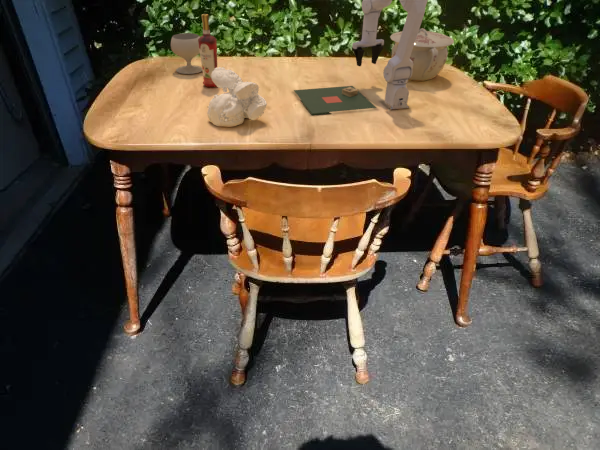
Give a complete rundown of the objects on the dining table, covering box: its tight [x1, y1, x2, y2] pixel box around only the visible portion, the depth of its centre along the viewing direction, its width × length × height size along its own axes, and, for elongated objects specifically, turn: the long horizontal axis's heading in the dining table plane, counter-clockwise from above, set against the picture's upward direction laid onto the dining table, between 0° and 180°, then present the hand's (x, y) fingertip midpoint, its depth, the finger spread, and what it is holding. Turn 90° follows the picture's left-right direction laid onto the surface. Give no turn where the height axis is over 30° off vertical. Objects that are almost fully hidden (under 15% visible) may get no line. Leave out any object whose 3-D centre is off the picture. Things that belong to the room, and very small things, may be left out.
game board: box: [293, 85, 377, 116], centre depth 188 cm, size 26×26×1 cm
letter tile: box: [342, 87, 359, 97], centre depth 192 cm, size 4×4×2 cm
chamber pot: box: [389, 27, 455, 82], centre depth 210 cm, size 28×28×21 cm
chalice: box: [170, 32, 203, 75], centre depth 212 cm, size 14×14×15 cm
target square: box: [322, 96, 342, 103], centre depth 187 cm, size 6×6×1 cm
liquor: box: [198, 13, 218, 88], centre depth 192 cm, size 7×7×28 cm
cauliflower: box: [206, 66, 268, 128], centre depth 167 cm, size 19×20×20 cm
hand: (366, 64), depth 197 cm, fingers open, 7 cm apart
